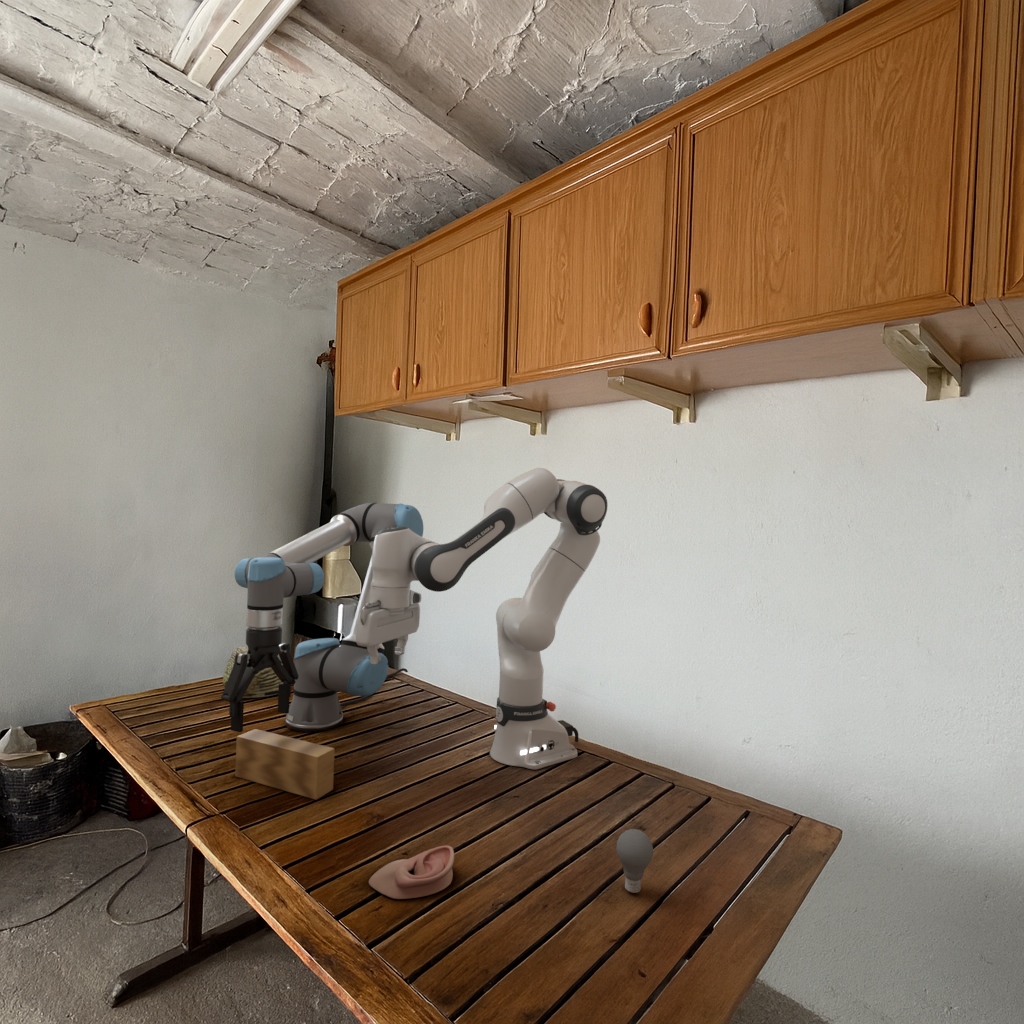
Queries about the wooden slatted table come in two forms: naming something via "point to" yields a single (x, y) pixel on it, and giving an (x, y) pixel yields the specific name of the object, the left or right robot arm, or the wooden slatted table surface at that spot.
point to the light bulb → (634, 857)
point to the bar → (285, 763)
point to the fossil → (255, 679)
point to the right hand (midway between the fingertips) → (387, 658)
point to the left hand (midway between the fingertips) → (261, 721)
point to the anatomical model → (416, 874)
